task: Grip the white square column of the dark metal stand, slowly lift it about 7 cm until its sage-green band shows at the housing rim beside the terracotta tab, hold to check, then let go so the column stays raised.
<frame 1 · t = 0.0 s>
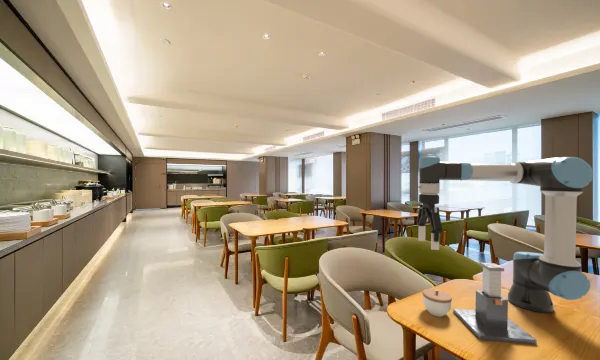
hand: (427, 245, 104), 28 cm above the table, tool pointing down, fingers open, 13 cm apart
white square column: (491, 293, 94), point 13 cm above the table, slide at 0.0 cm
lidded jar: (436, 313, 104), on the table
stand housing: (490, 326, 94), on the table
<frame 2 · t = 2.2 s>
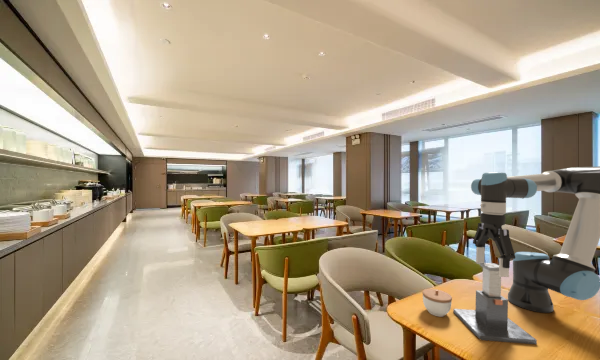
hand: (491, 269, 94), 22 cm above the table, tool pointing down, fingers open, 13 cm apart
nothing on the table moved.
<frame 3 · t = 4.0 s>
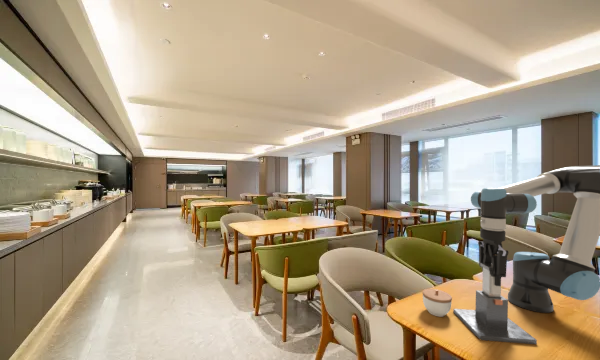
hand: (491, 290, 94), 14 cm above the table, tool pointing down, fingers closed on white square column, 4 cm apart
white square column: (491, 293, 94), point 13 cm above the table, slide at 0.0 cm, touching gripper
everything else where it was.
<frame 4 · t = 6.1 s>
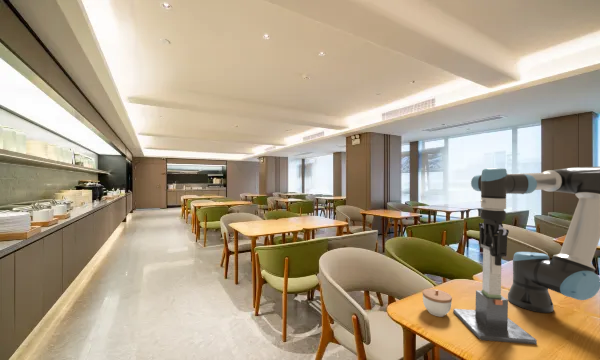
hand: (491, 271, 94), 21 cm above the table, tool pointing down, fingers closed on white square column, 4 cm apart
white square column: (491, 273, 94), point 20 cm above the table, slide at 7.4 cm, touching gripper
everything else where it was.
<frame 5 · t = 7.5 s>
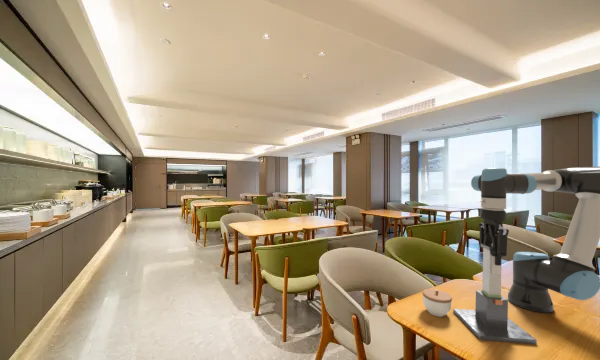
hand: (491, 270, 94), 21 cm above the table, tool pointing down, fingers closed on white square column, 4 cm apart
white square column: (491, 273, 94), point 20 cm above the table, slide at 7.5 cm, touching gripper
everything else where it was.
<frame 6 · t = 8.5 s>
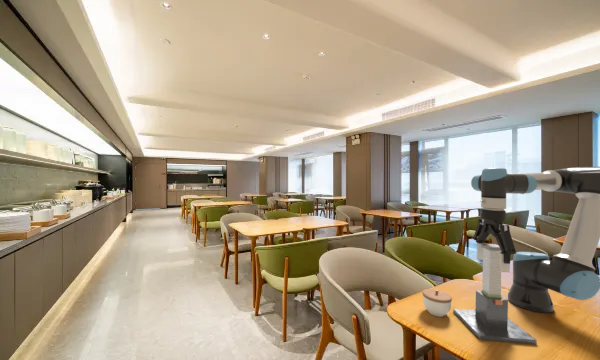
hand: (491, 265, 94), 23 cm above the table, tool pointing down, fingers open, 13 cm apart
white square column: (491, 273, 94), point 20 cm above the table, slide at 7.5 cm
everything else where it was.
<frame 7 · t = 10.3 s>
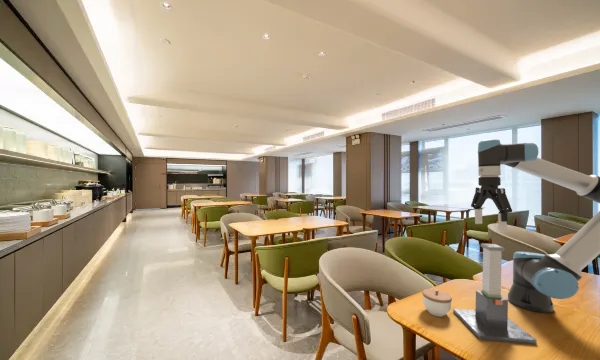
hand: (489, 226, 106), 36 cm above the table, tool pointing down, fingers open, 13 cm apart
nothing on the table moved.
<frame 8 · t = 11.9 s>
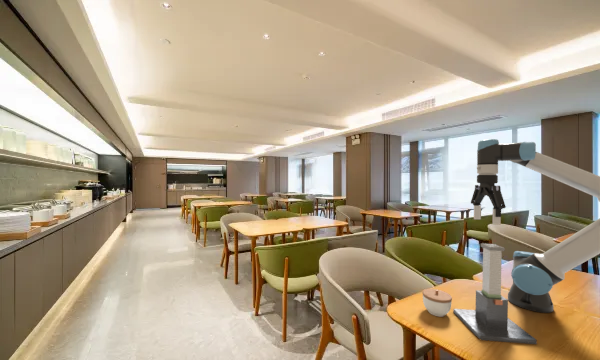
hand: (486, 221, 112), 37 cm above the table, tool pointing down, fingers open, 13 cm apart
nothing on the table moved.
at the end: white square column slide at 7.5 cm; the gripper is holding nothing; lidded jar moved 0.2 cm from its start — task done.
